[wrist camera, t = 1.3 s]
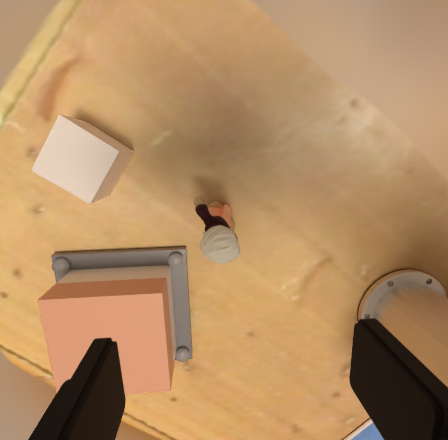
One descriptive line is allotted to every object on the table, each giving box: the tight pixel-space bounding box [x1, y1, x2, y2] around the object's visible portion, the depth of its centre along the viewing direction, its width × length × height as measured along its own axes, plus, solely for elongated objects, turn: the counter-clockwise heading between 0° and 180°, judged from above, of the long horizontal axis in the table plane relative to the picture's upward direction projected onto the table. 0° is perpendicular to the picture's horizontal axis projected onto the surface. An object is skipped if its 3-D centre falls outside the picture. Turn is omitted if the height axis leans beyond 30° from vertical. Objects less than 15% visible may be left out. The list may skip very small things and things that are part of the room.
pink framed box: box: [37, 247, 192, 395], centre depth 32 cm, size 16×16×8 cm
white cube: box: [31, 114, 134, 204], centre depth 29 cm, size 6×6×6 cm
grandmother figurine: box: [194, 197, 240, 264], centre depth 28 cm, size 8×4×13 cm, turn 44°
